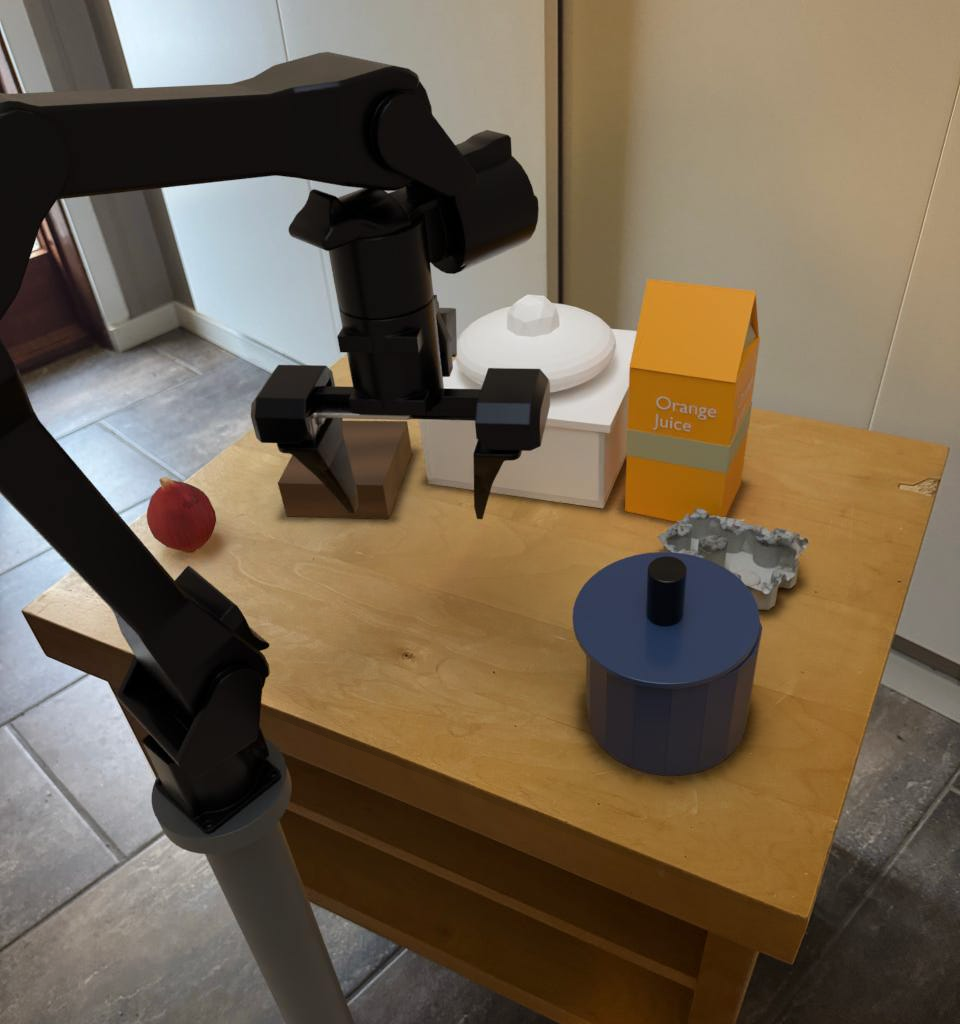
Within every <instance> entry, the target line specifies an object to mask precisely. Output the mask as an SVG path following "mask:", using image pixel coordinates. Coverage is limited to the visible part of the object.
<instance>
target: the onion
mask: <svg viewBox="0 0 960 1024" xmlns="http://www.w3.org/2000/svg"><path fill="white" fill-rule="evenodd" d="M159 482H160V486H159V487H157V489H156V490H155V491H154V493H153V494H152V496H151V497H150V499H149V502H148V506H147V510H146V521H147V526H148V528H149V531H150V533H151V534H152V536H153V539H155V540H157V541H158V542H159V543H161V544H162V545H163V546H164V547H166V548H168V549H172V550H175V551H179V552H184V553H189V554H192V553H195V552H196V551H198V550H200V549H201V548H203V546H204V545H206V543H208V542H209V541H210V539H211V537H212V536H213V534H214V532H215V528H216V524H217V515H216V510H215V509H214V506H213V504H212V502H211V500H210V498H209V497H208V496H207V494H206V493H205V492H204V491H203V490H202V489H201V488H198V487H197V486H195V485H192V484H191V483H190V484H189V483H187V482H184V481H177V480H173V479H172V478H170V477H168V476H164V477H161V478H159Z"/></svg>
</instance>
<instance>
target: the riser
mask: <svg viewBox="0 0 960 1024" xmlns="http://www.w3.org/2000/svg"><path fill="white" fill-rule="evenodd" d="M408 424H409V423H408V420H343V436H344V441H345V444H346V448H347V452H348V456H349V460H350V464H351V468H352V472H353V475H354V479H355V483H356V488H357V495H358V504H359V505H358V509H357V511H356V513H355V514H350V513H349V512H348V511H347V510H346V509H345V508H344V507H343V505H342V504H341V503H340V502H339V501H338V500H337V499H336V498H335V496H334V495H333V494H332V493H331V492H330V491H329V490H328V489H327V487H326V486H325V485H324V484H323V483H322V482H321V481H320V480H319V479H318V478H317V477H316V476H315V475H314V474H313V473H312V472H311V471H309V470H308V469H307V468H306V467H305V466H304V465H303V464H302V463H301V462H300V461H298V460H297V459H296V458H295V457H294V456H293V455H292V454H291V456H290V458H289V461H288V462H287V464H286V466H285V468H284V470H283V472H282V474H281V476H280V478H279V479H278V481H277V486H278V489H279V494H280V497H281V501H282V504H283V508H284V512H285V515H286V517H300V518H305V517H306V518H337V519H339V518H341V519H373V520H374V519H379V520H389V519H390V516H391V513H392V511H393V507H394V505H395V502H396V500H397V497H398V494H399V491H400V488H401V486H402V483H403V480H404V477H405V475H406V472H407V469H408V466H409V464H410V461H411V459H412V456H413V452H412V444H411V437H410V431H409V425H408Z"/></svg>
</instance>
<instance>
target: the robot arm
mask: <svg viewBox="0 0 960 1024" xmlns="http://www.w3.org/2000/svg"><path fill="white" fill-rule="evenodd" d="M512 151H513V150H512V138H511V136H510V135H508V134H506V133H502V132H497V131H493V130H488V129H485V130H483V131H480V132H477V133H475V134H473V135H471V136H470V137H468V138H467V139H466V140H465V141H462V142H460V143H456V144H455V143H454V141H453V140H452V139H451V137H450V135H448V133H447V132H446V131H445V129H444V128H443V127H442V125H441V124H440V123H439V121H438V120H437V118H436V117H435V116H434V115H433V108H432V104H431V101H430V99H429V96H428V92H427V89H426V87H425V86H424V85H423V84H422V82H421V80H420V77H419V75H418V73H416V72H414V71H413V70H411V69H410V68H408V67H403V66H398V65H393V64H387V63H383V62H378V61H374V60H370V59H364V58H360V57H359V58H358V57H355V56H350V55H345V54H341V53H335V52H331V51H324V52H317V53H314V54H310V55H307V56H306V55H305V56H302V57H299V58H296V59H292V60H288V61H285V62H280V63H277V64H274V65H272V66H270V67H269V68H267V69H265V70H264V71H261V72H260V73H257V75H255V76H253V77H250V78H247V79H243V80H240V81H236V82H233V83H218V84H198V85H197V84H195V85H175V86H173V85H172V86H154V87H153V86H151V87H150V86H149V87H131V88H108V89H106V88H105V89H87V90H86V89H85V90H65V91H64V90H63V91H43V92H41V91H40V92H21V93H20V92H19V93H3V92H0V322H1V321H2V319H3V317H4V316H5V314H6V313H7V312H8V310H9V309H10V307H11V305H12V304H13V303H14V301H15V299H16V298H17V296H18V293H19V292H20V290H21V287H22V283H23V280H24V278H25V274H26V271H27V268H28V265H29V263H30V259H31V255H32V252H33V250H34V247H35V243H36V241H37V237H38V235H39V231H40V228H41V225H42V223H43V222H44V221H45V219H46V218H47V216H48V214H49V212H51V209H52V208H53V207H54V205H55V203H56V202H57V200H65V199H75V198H83V197H93V196H102V195H110V194H121V193H130V192H139V191H148V190H156V189H157V190H158V189H164V188H165V189H167V188H174V187H175V188H176V187H184V186H185V187H186V186H193V185H201V184H211V183H220V182H230V181H240V180H246V179H256V178H265V177H274V176H275V177H285V178H293V179H294V178H296V179H301V180H307V181H312V182H317V183H324V184H330V185H334V186H342V187H348V188H357V189H358V190H355V191H352V192H349V193H346V194H344V195H341V196H339V197H337V196H336V195H333V194H330V193H327V192H324V191H322V190H318V189H315V188H313V189H311V190H310V191H309V193H308V196H307V200H306V201H305V204H304V206H302V208H301V209H300V210H299V211H298V212H297V213H296V214H295V216H294V218H293V220H292V221H291V223H290V224H289V226H288V234H289V236H290V237H292V238H294V239H295V240H298V241H301V242H304V243H305V244H309V245H311V246H314V247H316V248H318V249H321V250H324V251H326V252H328V257H329V262H330V267H331V273H332V278H333V284H334V289H335V294H336V300H337V301H336V302H337V306H338V312H339V316H340V322H341V329H340V331H339V333H338V334H337V336H336V338H337V342H338V348H339V353H346V355H347V360H348V361H347V362H348V366H349V373H350V379H351V383H352V386H342V385H341V386H336V384H335V379H334V378H335V377H334V373H333V370H331V368H329V367H328V366H327V365H318V364H317V365H311V364H310V365H309V364H308V365H307V364H277V366H276V367H275V368H274V370H273V371H272V372H271V374H270V375H269V376H268V378H267V380H266V381H265V382H264V384H263V385H262V387H261V389H260V390H259V391H258V393H257V394H256V396H255V398H254V399H253V401H252V402H251V404H250V405H251V406H250V419H251V423H252V427H253V432H254V435H255V438H256V439H257V441H259V442H260V443H262V444H264V443H265V444H276V447H277V450H278V451H279V452H280V453H282V454H289V455H291V456H292V455H293V456H294V457H295V458H296V459H297V460H298V461H300V462H301V463H302V464H303V465H304V466H305V467H306V468H307V469H308V470H309V471H311V472H312V473H313V474H314V475H315V476H316V477H317V478H318V479H319V480H320V481H321V482H322V483H323V484H324V485H325V486H326V487H327V489H328V490H329V491H330V492H331V493H332V494H333V495H334V496H335V498H336V499H337V500H338V501H339V502H340V503H341V504H342V505H343V507H344V508H345V509H346V510H347V511H348V512H349V513H350V514H355V513H356V511H357V509H358V505H359V504H358V495H357V488H356V483H355V479H354V475H353V472H352V468H351V464H350V460H349V456H348V452H347V448H346V444H345V441H344V436H343V421H344V420H343V419H353V420H356V419H357V420H388V421H409V420H419V419H432V420H472V421H475V428H476V438H477V439H478V441H477V444H476V447H475V450H474V453H473V459H474V490H473V507H474V512H475V517H476V519H477V520H483V519H484V516H485V512H486V508H487V505H488V501H489V497H490V494H491V492H490V491H491V487H492V484H493V482H494V480H495V478H496V476H497V474H498V472H499V470H500V468H501V466H502V464H503V462H504V461H507V460H508V461H512V460H516V459H518V458H519V457H520V456H521V453H522V451H531V450H533V449H536V448H538V447H540V446H541V442H542V438H543V434H544V429H545V425H546V421H547V416H548V412H549V408H550V382H549V379H548V378H547V377H546V375H545V374H544V373H543V372H542V371H541V370H540V369H518V368H488V370H487V373H486V376H485V379H484V382H483V385H482V388H481V389H445V388H444V384H443V377H450V375H451V372H452V369H453V358H455V357H456V356H457V340H458V338H457V334H458V333H457V309H456V308H454V307H440V302H439V301H438V295H437V294H434V287H433V278H432V269H431V265H432V266H433V267H435V269H438V271H440V272H442V273H444V274H449V275H452V274H453V275H456V274H458V273H460V272H462V271H465V270H467V269H470V268H472V267H474V266H476V265H478V264H481V263H483V262H485V261H488V260H490V259H492V258H494V257H496V256H499V255H501V254H503V253H505V252H508V251H511V250H513V249H515V248H517V247H520V246H521V245H524V244H526V243H527V242H528V241H530V239H532V237H533V235H534V233H535V232H536V230H537V229H536V228H537V226H538V221H539V211H540V210H539V208H540V207H539V199H538V197H537V195H536V194H535V193H534V192H535V191H534V188H533V185H532V182H531V180H530V178H529V175H528V173H527V172H526V170H525V169H524V167H523V166H522V164H521V163H520V162H519V161H518V160H517V159H516V158H515V157H514V156H513V154H512ZM0 495H1V496H2V497H3V499H4V500H6V501H7V502H8V503H9V505H10V506H12V507H13V509H14V510H16V512H18V514H19V515H20V516H21V517H22V518H24V520H25V521H26V522H27V523H28V524H29V525H30V527H32V528H33V529H34V531H35V532H37V533H38V535H40V536H41V537H42V539H43V540H44V541H45V542H46V543H47V544H48V545H49V546H50V547H51V548H52V549H53V550H54V551H55V552H56V553H57V554H58V555H59V556H60V557H61V558H62V560H64V561H65V562H66V564H67V565H68V566H69V567H70V568H71V569H72V570H73V571H74V572H75V573H76V574H77V575H78V576H79V577H80V578H81V579H82V580H83V581H84V582H85V583H86V584H87V585H88V586H89V587H90V589H92V590H93V592H95V594H96V595H98V597H99V598H100V599H101V600H102V601H103V602H104V603H105V604H106V605H107V606H108V607H109V608H110V610H111V611H112V613H113V615H114V617H115V619H116V623H117V625H118V627H119V630H120V632H121V635H122V637H123V638H124V640H125V641H126V643H127V645H128V647H129V648H130V650H131V652H132V653H133V655H134V656H133V658H132V660H131V663H130V664H129V667H128V669H127V671H126V673H125V675H124V677H123V679H122V681H121V684H120V685H119V688H118V690H117V692H116V694H115V698H116V700H118V702H120V703H121V705H122V706H123V707H124V708H125V709H126V710H127V711H128V712H129V713H130V714H131V715H132V717H133V718H134V719H135V720H136V721H137V722H138V723H139V724H140V725H141V726H142V728H143V729H144V730H145V731H146V732H147V733H148V734H147V735H145V736H144V737H143V738H142V739H141V743H142V745H143V747H144V749H145V751H146V753H147V755H148V758H149V759H150V762H151V763H152V765H153V767H154V769H155V771H156V773H157V776H158V775H159V777H160V778H159V779H158V780H157V781H156V783H155V782H154V783H155V786H156V788H157V790H158V791H159V792H160V793H161V794H162V795H163V796H164V797H165V798H166V799H167V800H168V801H170V802H171V803H172V804H173V805H174V806H175V807H176V808H177V809H178V810H179V811H180V812H182V813H183V814H184V815H185V816H186V817H187V818H188V819H189V820H190V821H191V822H193V823H194V824H195V825H196V826H197V827H198V828H199V829H200V830H201V831H202V832H203V833H205V834H212V833H213V832H215V831H216V830H217V829H219V828H220V827H221V826H223V825H224V824H225V823H226V822H228V821H229V820H230V819H231V818H233V817H234V816H235V815H236V814H238V813H239V812H240V811H241V810H243V809H244V808H245V807H247V806H248V805H249V804H250V803H252V802H253V801H254V800H255V799H257V798H258V797H259V796H260V795H262V794H263V793H264V792H265V791H267V790H268V789H269V788H271V787H272V786H273V785H274V784H276V783H277V782H278V781H279V780H280V779H281V773H280V771H279V769H278V768H276V767H275V766H274V765H273V764H271V763H270V762H269V761H267V760H266V759H265V758H267V757H268V756H269V750H268V747H267V744H266V741H265V738H266V737H265V736H264V733H263V730H262V728H261V725H260V721H261V709H262V698H263V689H264V687H265V683H266V681H267V678H268V677H269V676H270V673H271V670H270V664H269V661H268V660H267V658H266V656H265V655H264V653H262V652H261V651H265V650H267V649H269V648H270V646H271V645H270V643H269V642H268V641H267V640H265V638H263V637H262V636H261V635H260V634H258V633H257V632H256V631H255V630H254V629H253V628H251V627H250V625H249V623H248V621H247V619H246V617H245V615H244V614H243V612H242V611H241V609H240V608H239V606H238V605H237V604H236V603H234V602H233V601H232V600H231V599H230V598H228V597H227V596H226V595H225V594H223V593H222V591H220V590H219V589H218V588H217V587H215V586H214V585H213V584H212V583H211V582H209V581H208V580H207V579H206V577H205V578H204V576H202V575H201V574H200V573H199V572H198V571H196V570H195V569H194V568H193V567H192V566H190V565H187V566H185V568H184V569H183V571H182V572H180V574H179V575H178V576H177V577H176V578H175V579H174V578H173V577H172V576H171V575H170V574H169V572H168V571H167V569H166V568H164V567H163V565H162V564H161V563H160V561H159V560H158V559H157V558H156V557H155V556H154V554H153V553H152V552H151V551H150V550H149V548H148V547H147V546H146V545H145V544H144V543H143V541H142V540H141V539H140V538H139V537H138V535H137V534H136V533H135V532H134V531H133V530H132V528H131V527H130V526H129V525H128V523H126V521H125V520H124V519H123V517H122V516H120V514H119V513H118V512H117V511H116V509H115V508H114V507H113V506H112V505H111V503H110V502H109V501H108V500H107V498H106V497H104V495H103V494H102V493H101V492H100V490H98V488H97V487H96V486H95V485H94V483H93V482H92V481H91V480H90V479H89V477H87V475H86V474H85V473H84V471H83V470H82V469H81V468H80V467H79V465H77V463H76V462H75V461H74V460H73V459H72V457H71V456H70V455H69V454H68V453H67V452H66V450H65V449H64V448H63V447H62V446H61V444H60V443H59V442H58V441H57V440H56V439H55V437H54V436H53V435H52V433H51V432H50V431H49V430H48V428H46V426H45V425H44V424H43V423H42V422H41V421H40V419H39V417H38V416H37V414H36V412H35V410H34V408H33V405H32V402H31V399H30V398H29V395H28V392H27V389H26V387H25V384H24V382H23V378H22V377H21V372H20V370H19V369H18V367H17V364H16V363H15V361H14V360H13V358H12V356H11V354H10V353H9V351H8V349H7V347H6V346H5V343H4V342H3V340H2V339H1V337H0ZM275 774H276V775H275ZM272 775H275V776H274V777H271V776H272ZM162 784H163V786H161V785H162ZM209 825H211V827H209V828H206V827H207V826H209Z"/></svg>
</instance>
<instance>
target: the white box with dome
mask: <svg viewBox="0 0 960 1024" xmlns="http://www.w3.org/2000/svg"><path fill="white" fill-rule="evenodd" d="M636 333H637V330H630V329H629V330H628V329H618V328H611V327H610V326H609V325H608V324H607V323H606V322H605V321H604V319H602V318H600V316H598V315H596V314H594V313H593V312H590V311H588V310H585V309H583V308H580V307H578V306H573V305H569V304H565V303H564V304H563V303H556V302H551V301H550V300H549V299H548V298H547V297H546V296H545V295H539V294H528V293H527V294H526V295H525V296H523V297H521V298H520V299H518V300H517V301H515V302H514V303H513V304H512V305H510V306H506V307H503V308H499V309H497V310H493V311H491V312H489V313H487V314H486V315H485V314H484V315H483V316H481V317H479V318H478V319H476V320H474V321H472V322H471V323H470V324H469V325H468V326H467V327H466V328H465V329H464V330H463V331H462V332H461V333H460V335H459V336H458V338H457V356H456V357H454V360H452V362H453V369H452V372H451V375H450V377H443V384H444V388H445V389H481V388H482V385H483V382H484V379H485V376H486V373H487V370H488V368H518V369H540V370H541V371H542V372H543V373H544V374H545V375H546V377H547V378H548V379H549V382H550V408H549V412H548V416H547V421H546V425H545V429H544V434H543V438H542V442H541V446H540V447H538V448H536V449H533V450H531V451H522V453H521V456H520V457H519V458H518V459H516V460H512V461H508V460H507V461H504V462H503V464H502V466H501V468H500V470H499V472H498V474H497V476H496V478H495V480H494V482H493V484H492V487H491V491H490V494H491V493H492V494H498V495H499V494H500V495H507V496H513V497H519V498H528V499H535V500H541V501H547V502H548V501H549V502H555V503H563V504H571V505H577V506H583V507H591V508H598V509H604V508H605V506H606V503H607V501H608V499H609V497H610V494H611V492H612V490H613V487H614V486H615V483H616V481H617V478H618V475H619V473H620V472H621V469H622V467H623V465H624V463H625V460H626V459H627V455H626V445H627V428H628V402H629V371H630V362H631V357H632V352H633V347H634V343H635V338H636ZM418 423H419V429H420V430H419V431H420V437H421V445H422V451H423V458H424V466H425V473H426V480H427V484H428V485H435V486H442V487H443V486H444V487H450V488H456V489H457V488H458V489H463V490H464V489H465V490H470V491H474V459H473V453H474V450H475V447H476V444H477V441H478V439H477V438H476V428H475V421H472V420H432V419H418Z"/></svg>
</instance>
